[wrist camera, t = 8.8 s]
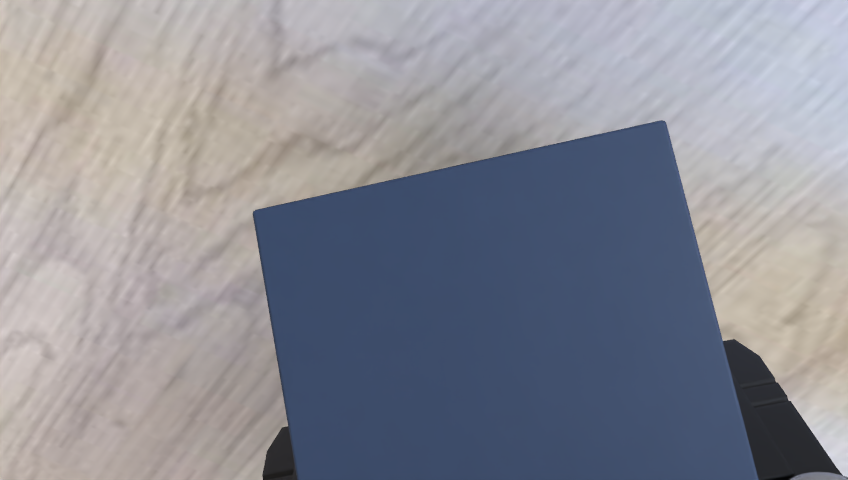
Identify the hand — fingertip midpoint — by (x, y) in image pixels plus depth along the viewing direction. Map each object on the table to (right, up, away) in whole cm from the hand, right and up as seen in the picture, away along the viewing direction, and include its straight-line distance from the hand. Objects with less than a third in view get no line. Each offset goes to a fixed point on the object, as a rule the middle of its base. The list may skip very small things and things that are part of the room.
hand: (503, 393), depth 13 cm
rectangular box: (0, +3, +3) cm, 4 cm away
